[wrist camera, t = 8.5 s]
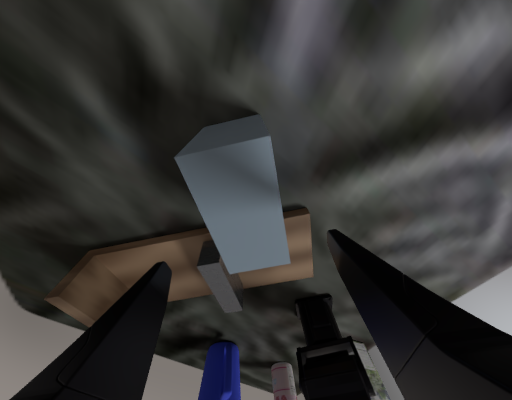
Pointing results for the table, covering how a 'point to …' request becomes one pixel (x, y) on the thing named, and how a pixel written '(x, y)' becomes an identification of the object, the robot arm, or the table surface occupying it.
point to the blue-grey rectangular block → (237, 192)
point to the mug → (221, 373)
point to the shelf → (178, 259)
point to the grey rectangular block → (220, 278)
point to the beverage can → (283, 381)
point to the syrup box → (371, 372)
